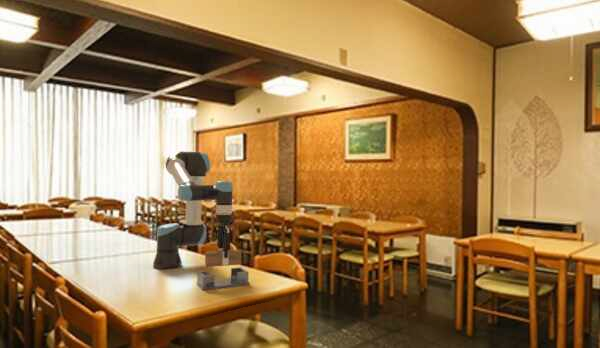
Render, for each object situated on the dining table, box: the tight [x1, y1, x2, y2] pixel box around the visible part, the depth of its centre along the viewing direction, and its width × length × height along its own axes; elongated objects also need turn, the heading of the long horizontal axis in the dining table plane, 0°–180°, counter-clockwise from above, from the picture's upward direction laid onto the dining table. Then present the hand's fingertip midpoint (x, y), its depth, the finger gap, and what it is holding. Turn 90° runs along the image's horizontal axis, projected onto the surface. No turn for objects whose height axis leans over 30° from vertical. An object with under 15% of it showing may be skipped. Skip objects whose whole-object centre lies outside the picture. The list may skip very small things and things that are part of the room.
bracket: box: [196, 266, 250, 291], centre depth 186 cm, size 11×22×6 cm, turn 118°
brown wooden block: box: [204, 249, 242, 268], centre depth 186 cm, size 5×16×6 cm, turn 113°
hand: (223, 263), depth 186 cm, fingers closed on brown wooden block, 5 cm apart
